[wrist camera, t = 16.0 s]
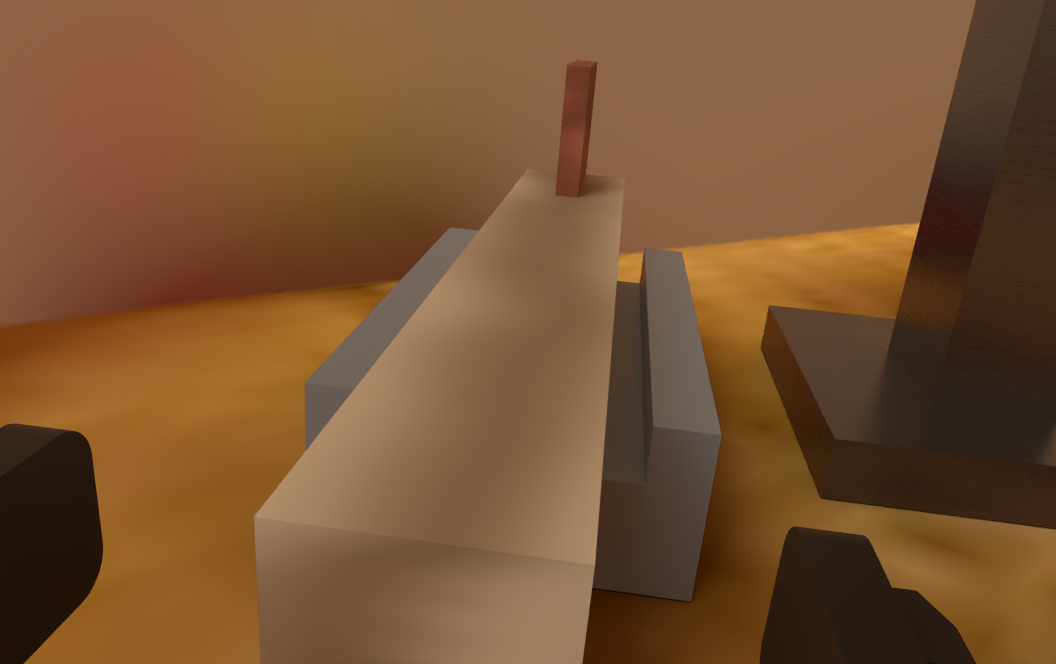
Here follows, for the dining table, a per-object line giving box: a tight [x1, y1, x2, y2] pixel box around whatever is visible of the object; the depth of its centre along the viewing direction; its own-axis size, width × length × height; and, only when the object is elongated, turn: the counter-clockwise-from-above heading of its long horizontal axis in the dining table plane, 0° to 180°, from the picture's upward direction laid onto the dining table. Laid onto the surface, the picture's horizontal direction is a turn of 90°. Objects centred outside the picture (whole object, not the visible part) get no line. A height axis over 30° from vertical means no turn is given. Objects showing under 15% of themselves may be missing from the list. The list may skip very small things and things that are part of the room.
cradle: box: [305, 228, 722, 602], centre depth 27 cm, size 10×16×4 cm, turn 173°
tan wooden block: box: [254, 60, 625, 664], centre depth 21 cm, size 4×26×8 cm, turn 173°
